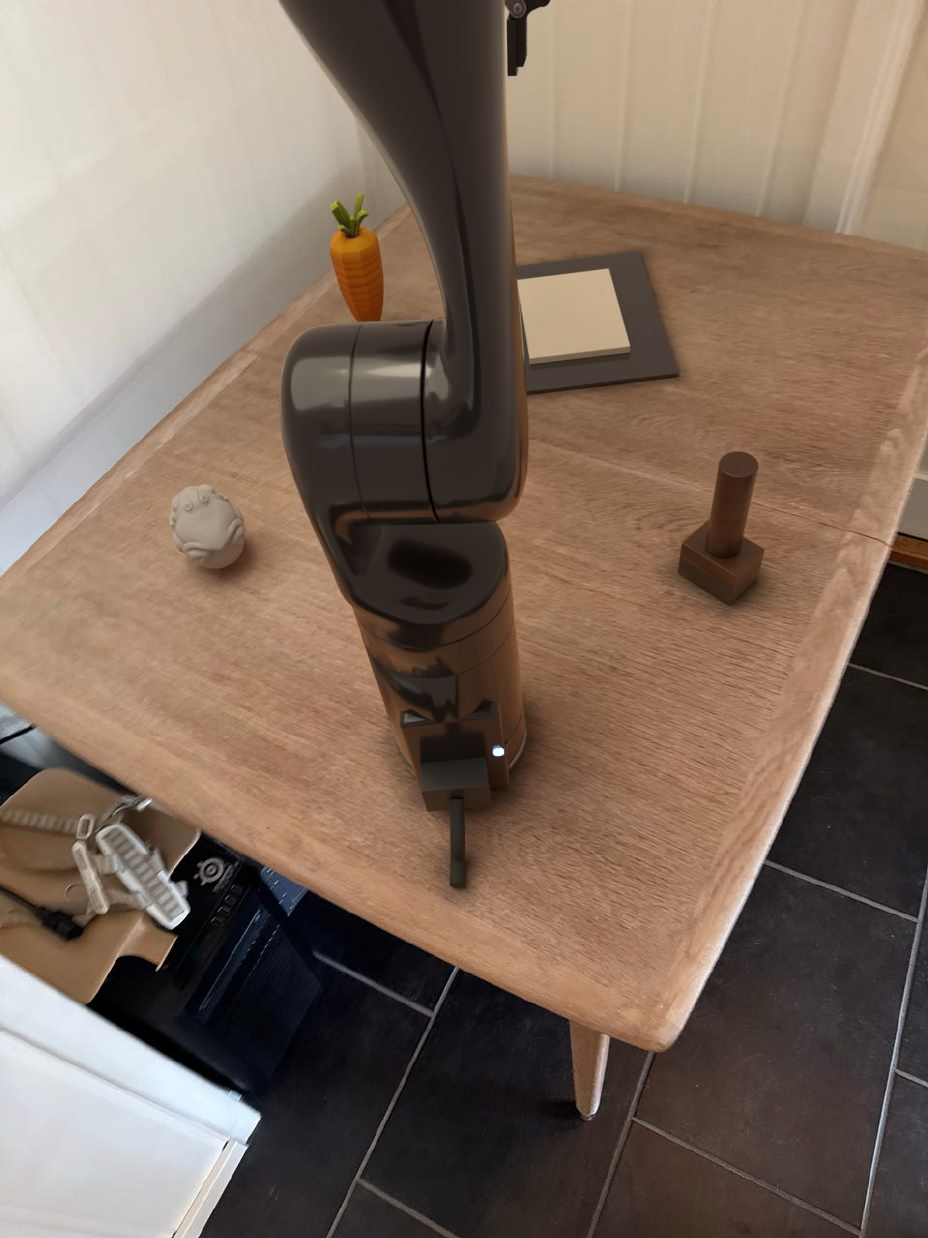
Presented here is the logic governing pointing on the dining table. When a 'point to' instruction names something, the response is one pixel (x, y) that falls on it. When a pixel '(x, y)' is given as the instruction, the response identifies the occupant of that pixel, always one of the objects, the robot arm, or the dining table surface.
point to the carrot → (357, 263)
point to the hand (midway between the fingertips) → (458, 74)
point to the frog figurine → (207, 527)
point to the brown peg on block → (725, 534)
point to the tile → (591, 324)
